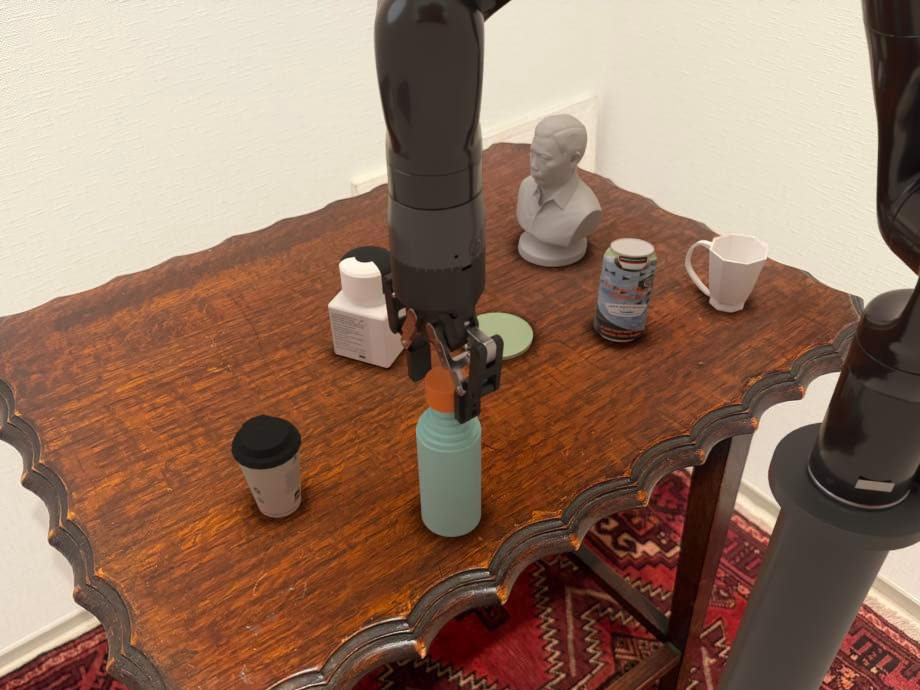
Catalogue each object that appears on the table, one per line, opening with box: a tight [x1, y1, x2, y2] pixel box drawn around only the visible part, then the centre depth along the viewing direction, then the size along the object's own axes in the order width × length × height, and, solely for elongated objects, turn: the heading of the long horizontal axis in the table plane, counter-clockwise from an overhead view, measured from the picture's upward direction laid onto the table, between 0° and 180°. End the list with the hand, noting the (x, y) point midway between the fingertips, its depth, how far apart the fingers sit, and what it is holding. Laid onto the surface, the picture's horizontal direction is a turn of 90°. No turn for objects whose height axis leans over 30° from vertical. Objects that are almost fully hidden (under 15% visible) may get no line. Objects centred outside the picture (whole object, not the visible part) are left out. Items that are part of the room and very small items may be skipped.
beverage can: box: [593, 237, 658, 343], centre depth 103 cm, size 6×7×12 cm
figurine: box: [515, 113, 604, 268], centre depth 115 cm, size 9×13×20 cm
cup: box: [684, 232, 771, 313], centre depth 108 cm, size 7×10×8 cm
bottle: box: [415, 405, 482, 538], centre depth 82 cm, size 6×6×18 cm
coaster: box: [462, 312, 534, 361], centre depth 108 cm, size 9×9×1 cm
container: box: [327, 245, 406, 369], centre depth 105 cm, size 8×8×13 cm
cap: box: [424, 364, 469, 413], centre depth 76 cm, size 4×4×2 cm
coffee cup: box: [230, 414, 302, 519], centre depth 88 cm, size 7×7×10 cm
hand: (443, 396), depth 79 cm, fingers open, 6 cm apart
